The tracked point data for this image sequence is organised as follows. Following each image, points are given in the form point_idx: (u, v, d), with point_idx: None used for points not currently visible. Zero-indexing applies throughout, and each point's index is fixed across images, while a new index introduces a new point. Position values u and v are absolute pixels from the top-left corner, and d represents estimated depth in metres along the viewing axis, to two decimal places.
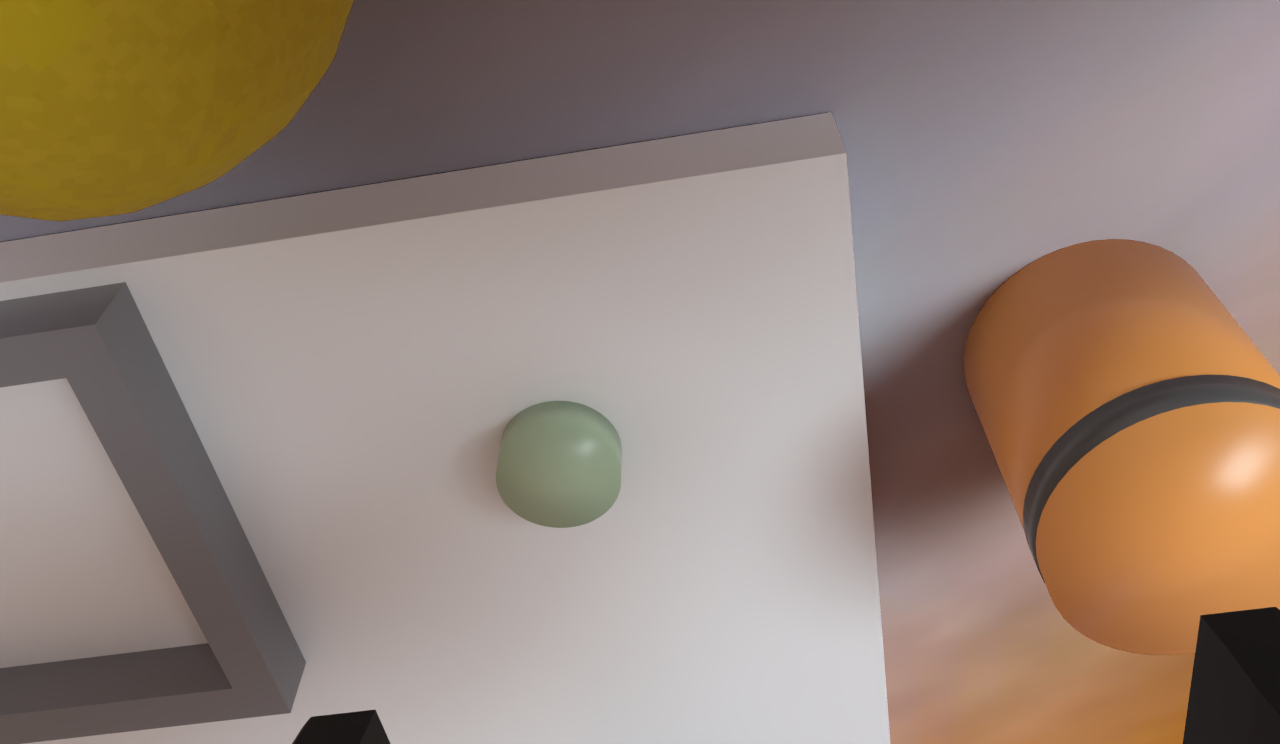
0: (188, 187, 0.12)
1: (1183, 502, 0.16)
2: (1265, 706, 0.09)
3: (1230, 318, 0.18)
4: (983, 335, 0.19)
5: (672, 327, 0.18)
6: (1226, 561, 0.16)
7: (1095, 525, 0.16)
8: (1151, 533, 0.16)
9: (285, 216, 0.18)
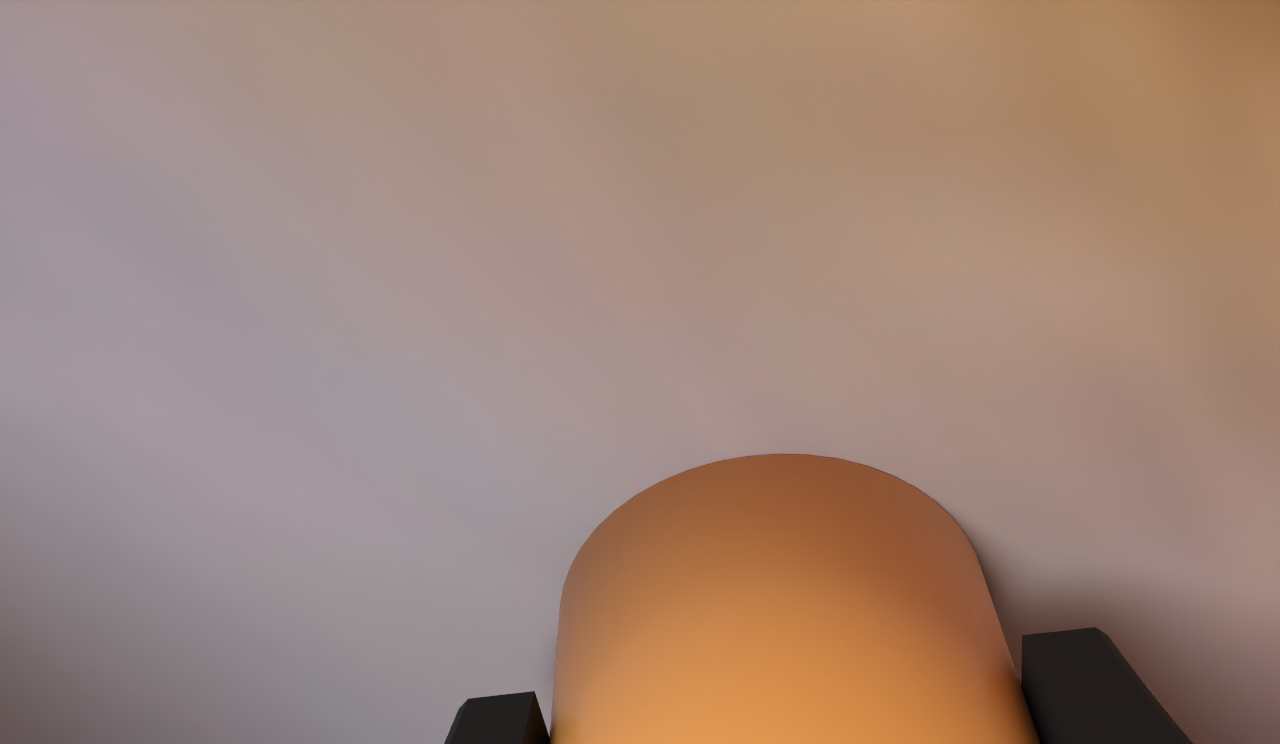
0: None
1: None
2: (1065, 727, 0.09)
3: (586, 682, 0.10)
4: None
5: None
6: None
7: None
8: None
9: None
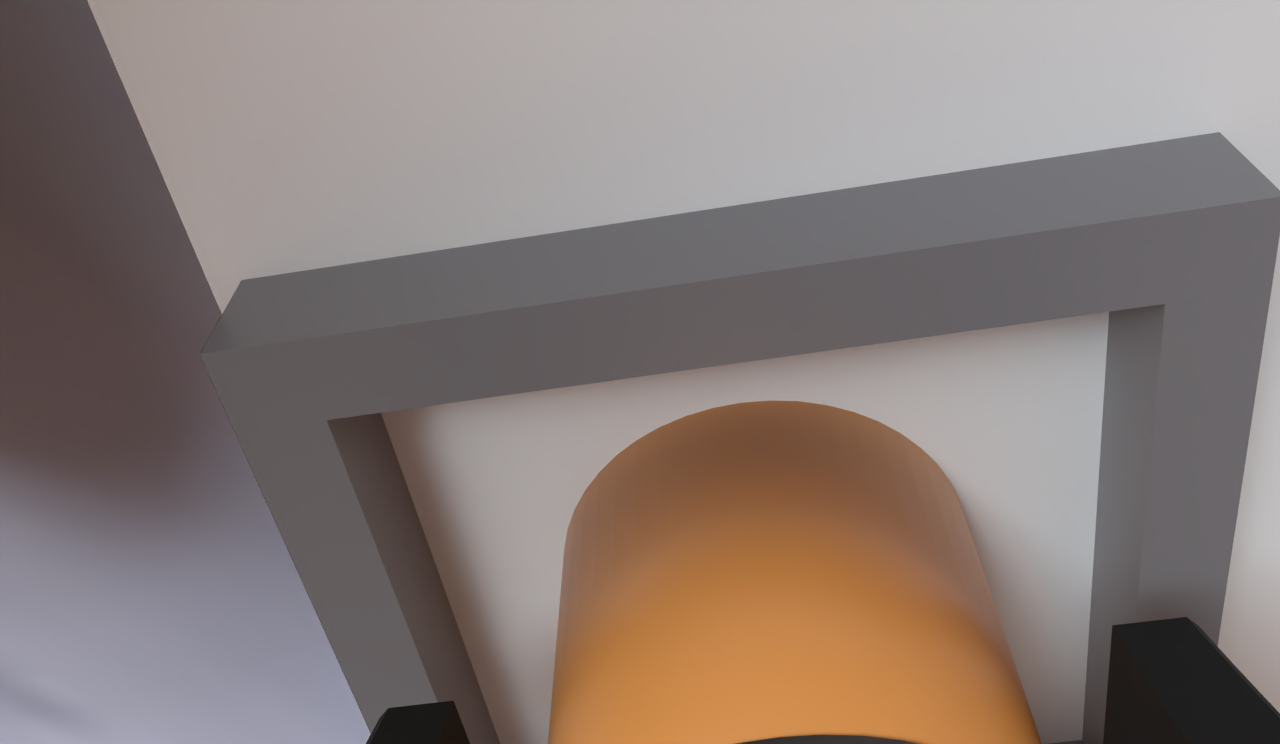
0: None
1: None
2: (1166, 716, 0.09)
3: (589, 609, 0.10)
4: None
5: None
6: None
7: None
8: None
9: None
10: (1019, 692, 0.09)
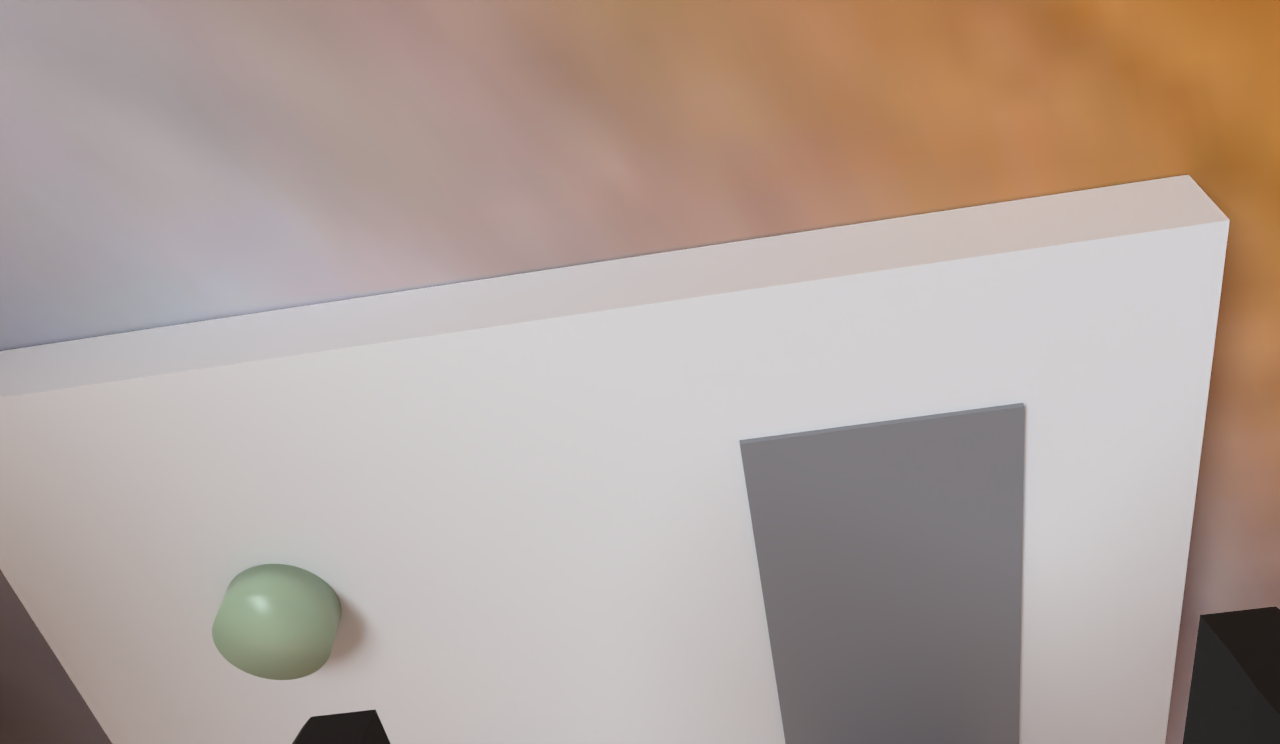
0: None
1: None
2: (1265, 705, 0.09)
3: None
4: None
5: (121, 528, 0.20)
6: None
7: None
8: None
9: None
10: None
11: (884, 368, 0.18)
